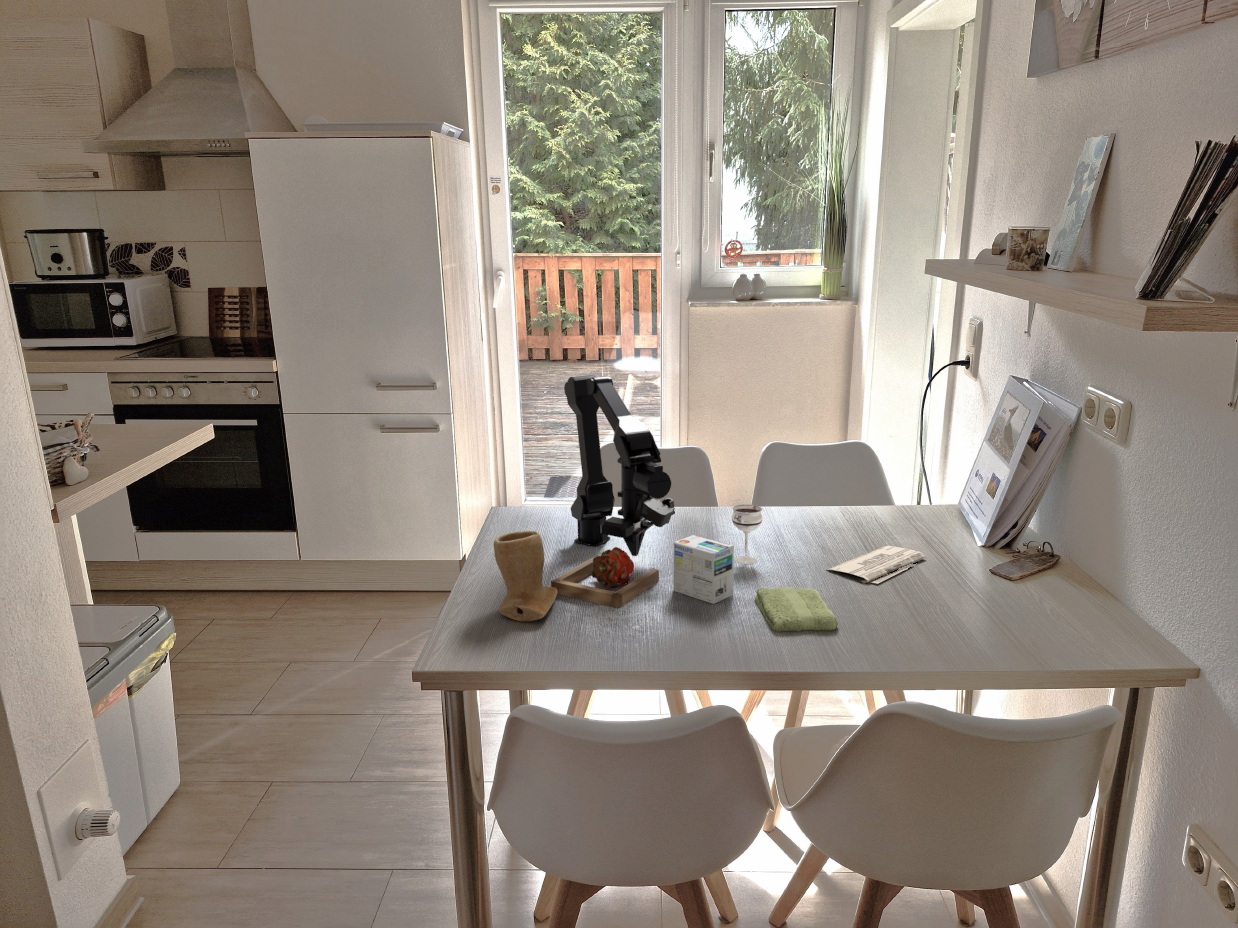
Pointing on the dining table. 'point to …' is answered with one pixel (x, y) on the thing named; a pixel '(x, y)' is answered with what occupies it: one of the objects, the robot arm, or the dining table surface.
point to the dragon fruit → (613, 567)
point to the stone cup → (523, 576)
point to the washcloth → (795, 609)
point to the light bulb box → (703, 568)
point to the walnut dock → (570, 588)
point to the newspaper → (880, 563)
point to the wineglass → (746, 525)
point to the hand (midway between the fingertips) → (634, 555)
